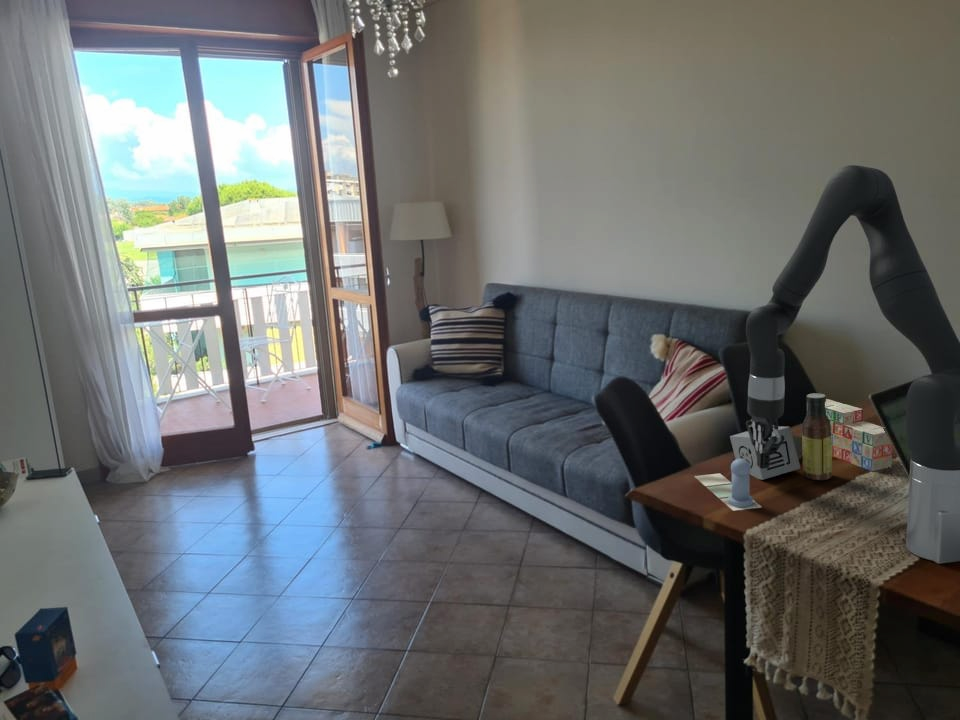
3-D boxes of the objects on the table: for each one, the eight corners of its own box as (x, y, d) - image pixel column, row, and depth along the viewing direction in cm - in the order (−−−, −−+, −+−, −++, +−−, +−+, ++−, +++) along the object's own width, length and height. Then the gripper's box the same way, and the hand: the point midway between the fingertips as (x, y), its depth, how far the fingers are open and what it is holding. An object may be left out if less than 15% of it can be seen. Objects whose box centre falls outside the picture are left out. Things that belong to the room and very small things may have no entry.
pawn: (757, 506, 151) (757, 461, 149) (734, 508, 151) (734, 464, 149) (746, 497, 156) (746, 454, 154) (724, 499, 156) (724, 456, 154)
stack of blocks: (892, 467, 169) (894, 418, 166) (871, 472, 167) (873, 422, 165) (825, 442, 189) (826, 397, 186) (805, 446, 187) (806, 401, 185)
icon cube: (800, 468, 166) (789, 426, 166) (762, 479, 164) (751, 437, 164) (776, 465, 175) (765, 426, 176) (740, 476, 174) (729, 436, 174)
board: (764, 511, 151) (764, 507, 150) (732, 515, 150) (732, 511, 150) (720, 476, 171) (720, 472, 171) (692, 479, 170) (692, 475, 170)
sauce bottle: (826, 471, 169) (828, 390, 165) (836, 481, 163) (838, 397, 159) (797, 472, 170) (798, 392, 166) (806, 482, 164) (808, 399, 160)
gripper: (798, 400, 152) (794, 476, 156) (766, 385, 165) (763, 455, 169) (765, 403, 151) (762, 479, 155) (735, 387, 164) (733, 458, 168)
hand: (762, 467), depth 162 cm, fingers closed
